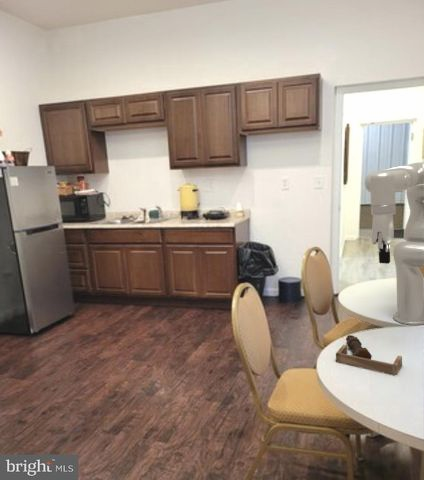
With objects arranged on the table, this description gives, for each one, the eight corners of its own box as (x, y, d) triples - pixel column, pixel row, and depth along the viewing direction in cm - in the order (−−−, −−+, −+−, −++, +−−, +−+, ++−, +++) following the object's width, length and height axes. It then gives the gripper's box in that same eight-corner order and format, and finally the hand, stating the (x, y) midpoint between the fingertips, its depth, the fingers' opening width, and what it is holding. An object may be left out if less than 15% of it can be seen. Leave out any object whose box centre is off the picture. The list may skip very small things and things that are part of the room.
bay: (343, 352, 130) (343, 344, 129) (402, 365, 118) (401, 356, 118) (336, 361, 124) (335, 353, 124) (396, 375, 113) (396, 366, 112)
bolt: (353, 348, 136) (365, 368, 121) (340, 342, 136) (351, 361, 121) (360, 334, 135) (374, 352, 120) (347, 328, 135) (360, 346, 120)
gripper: (377, 207, 134) (379, 257, 137) (364, 213, 123) (366, 267, 126) (400, 206, 130) (401, 258, 133) (389, 212, 118) (390, 269, 121)
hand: (384, 262), depth 129 cm, fingers closed
